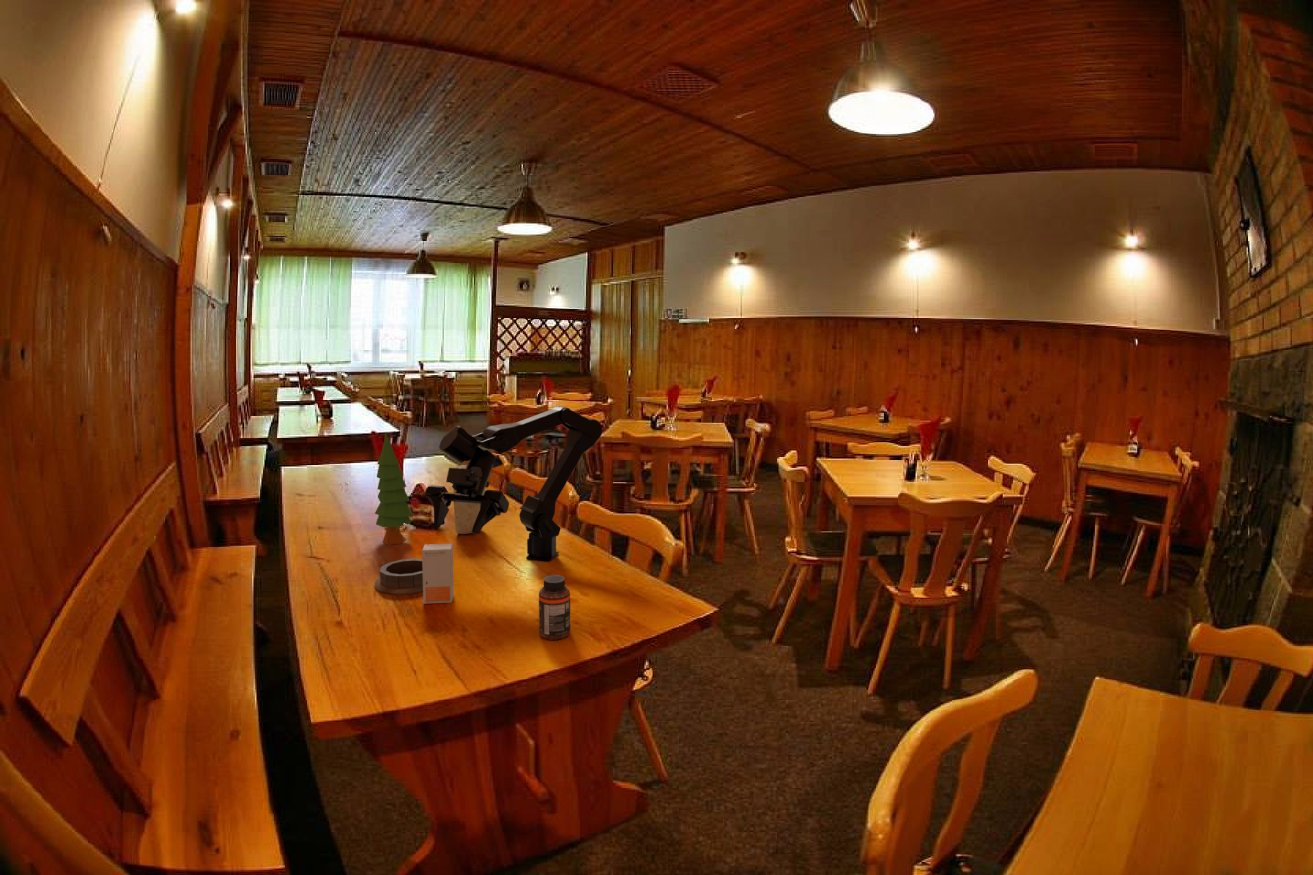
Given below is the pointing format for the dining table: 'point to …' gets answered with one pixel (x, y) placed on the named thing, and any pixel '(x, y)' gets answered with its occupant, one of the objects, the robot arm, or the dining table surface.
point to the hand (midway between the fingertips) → (454, 531)
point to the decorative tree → (391, 496)
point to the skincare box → (437, 573)
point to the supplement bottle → (554, 608)
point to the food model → (465, 514)
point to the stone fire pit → (401, 577)
